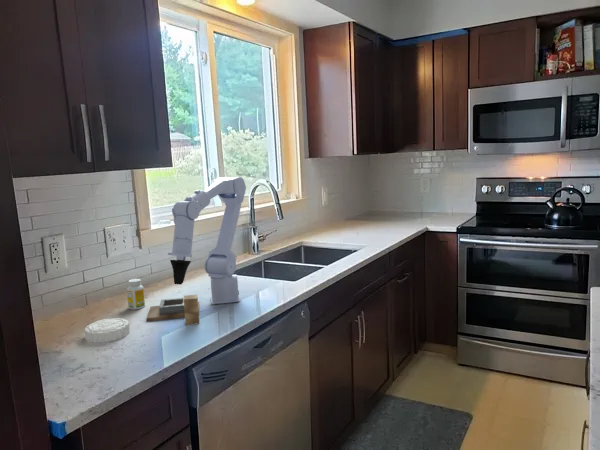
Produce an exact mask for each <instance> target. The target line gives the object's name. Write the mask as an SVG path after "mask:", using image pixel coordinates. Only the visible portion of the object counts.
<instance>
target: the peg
mask: <svg viewBox="0 0 600 450" xmlns="http://www.w3.org/2000/svg"><path fill="white" fill-rule="evenodd" d="M183 298H184V311H185V317H184V321H185V325H186V326H188V325H190V326H191V325H198V324H200V309H199V310H198V302H199V300H198V298H199V297H198V294H189V295H183Z"/></svg>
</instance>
